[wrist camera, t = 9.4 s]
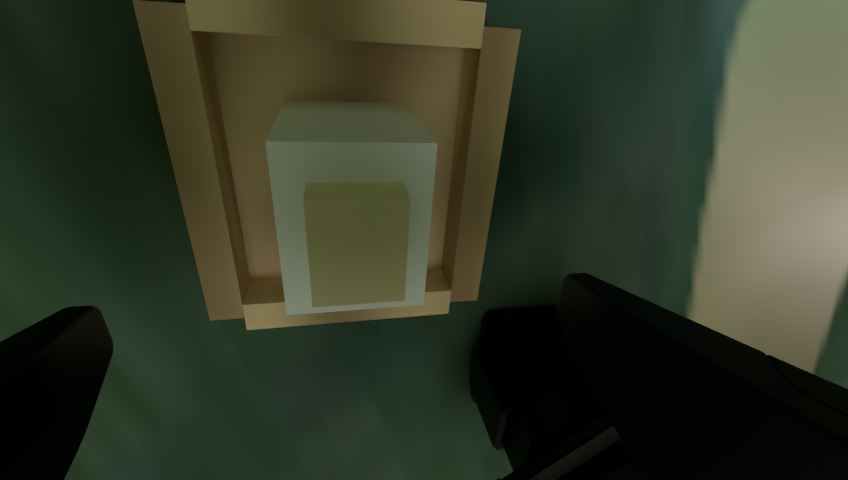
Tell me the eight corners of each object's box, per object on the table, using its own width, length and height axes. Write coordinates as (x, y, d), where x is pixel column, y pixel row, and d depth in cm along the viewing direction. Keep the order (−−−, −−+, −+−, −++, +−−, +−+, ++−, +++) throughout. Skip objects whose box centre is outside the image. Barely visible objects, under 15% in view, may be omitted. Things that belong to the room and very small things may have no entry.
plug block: (404, 103, 14) (448, 155, 9) (399, 229, 17) (430, 326, 11) (285, 99, 13) (258, 155, 8) (297, 233, 16) (283, 339, 11)
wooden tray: (495, 7, 14) (525, 6, 12) (459, 278, 19) (475, 311, 17) (161, -22, 12) (125, -30, 10) (227, 293, 17) (212, 332, 15)
